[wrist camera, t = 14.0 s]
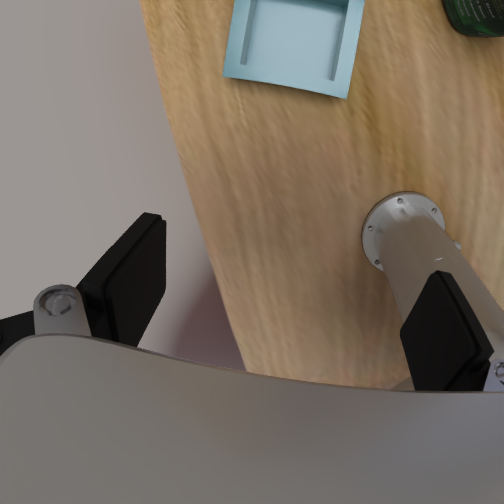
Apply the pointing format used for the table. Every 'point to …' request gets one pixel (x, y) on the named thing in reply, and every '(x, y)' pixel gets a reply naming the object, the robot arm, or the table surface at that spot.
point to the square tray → (295, 43)
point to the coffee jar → (477, 17)
